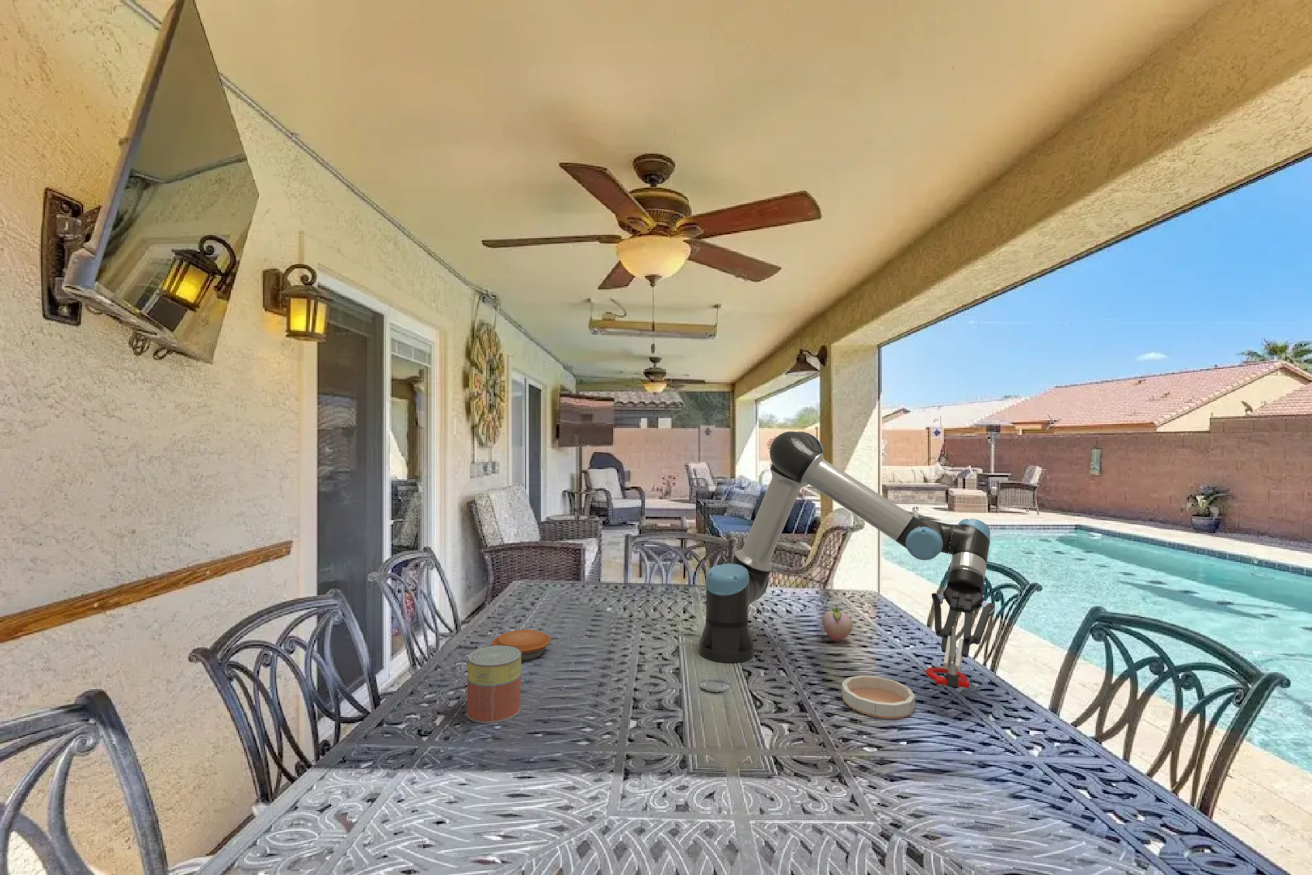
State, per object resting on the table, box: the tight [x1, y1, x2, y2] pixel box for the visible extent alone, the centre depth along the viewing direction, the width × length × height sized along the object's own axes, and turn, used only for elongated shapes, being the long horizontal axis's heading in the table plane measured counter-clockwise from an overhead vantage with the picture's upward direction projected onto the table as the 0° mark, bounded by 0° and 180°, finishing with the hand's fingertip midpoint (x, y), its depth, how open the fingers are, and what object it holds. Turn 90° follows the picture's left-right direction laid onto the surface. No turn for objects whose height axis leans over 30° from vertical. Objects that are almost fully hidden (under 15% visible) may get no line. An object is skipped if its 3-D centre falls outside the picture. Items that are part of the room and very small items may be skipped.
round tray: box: [841, 674, 916, 720], centre depth 130 cm, size 15×15×3 cm
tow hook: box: [925, 625, 970, 689], centre depth 129 cm, size 8×13×9 cm
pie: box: [491, 629, 552, 662], centre depth 157 cm, size 16×16×5 cm
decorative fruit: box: [821, 606, 853, 642], centre depth 170 cm, size 9×8×10 cm
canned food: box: [465, 645, 522, 724], centre depth 124 cm, size 11×11×12 cm
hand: (951, 667), depth 124 cm, fingers closed on tow hook, 1 cm apart
